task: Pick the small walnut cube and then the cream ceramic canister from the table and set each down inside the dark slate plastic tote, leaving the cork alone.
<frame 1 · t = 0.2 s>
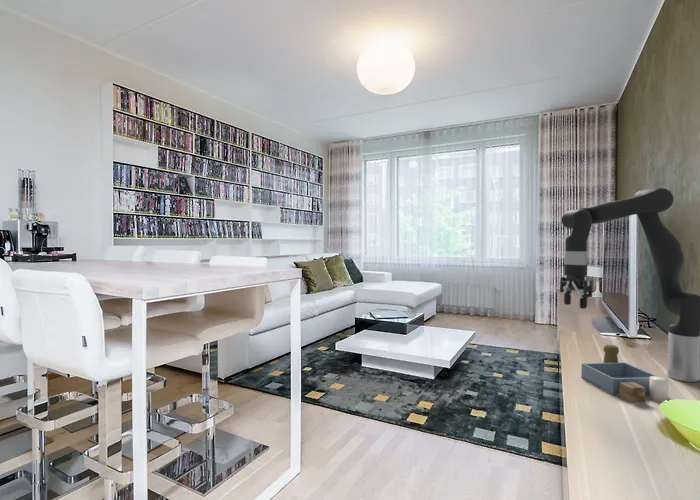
hand: (575, 306, 146), 29 cm above the table, tool pointing down, fingers open, 8 cm apart
ceramic canister: (658, 399, 131), on the table
cork: (610, 372, 157), on the table
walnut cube: (631, 399, 131), on the table
tote: (619, 385, 143), on the table
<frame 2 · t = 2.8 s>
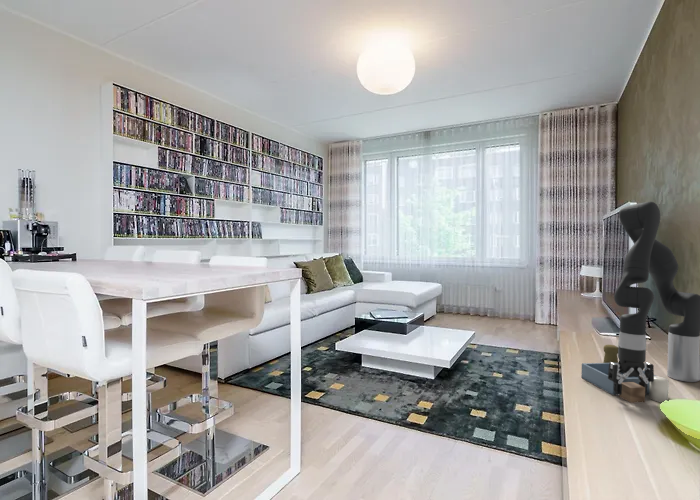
hand: (630, 393, 131), 2 cm above the table, tool pointing down, fingers open, 8 cm apart
nothing on the table moved.
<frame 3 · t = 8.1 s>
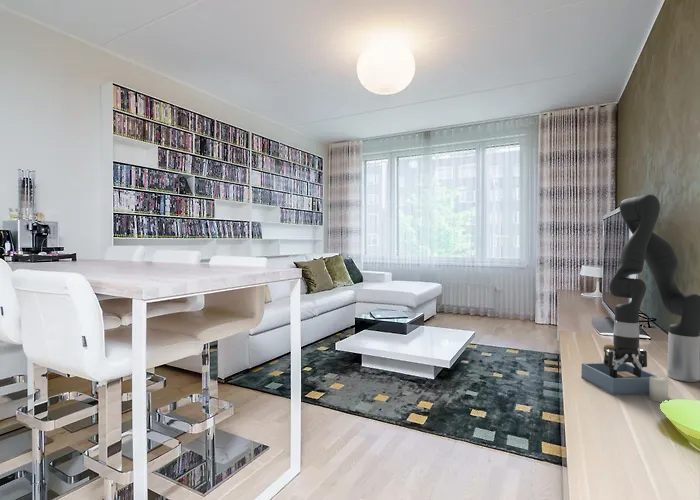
hand: (625, 378, 139), 4 cm above the table, tool pointing down, fingers open, 8 cm apart
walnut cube: (624, 387, 139), point 1 cm above the table, touching tote
everything else where it was.
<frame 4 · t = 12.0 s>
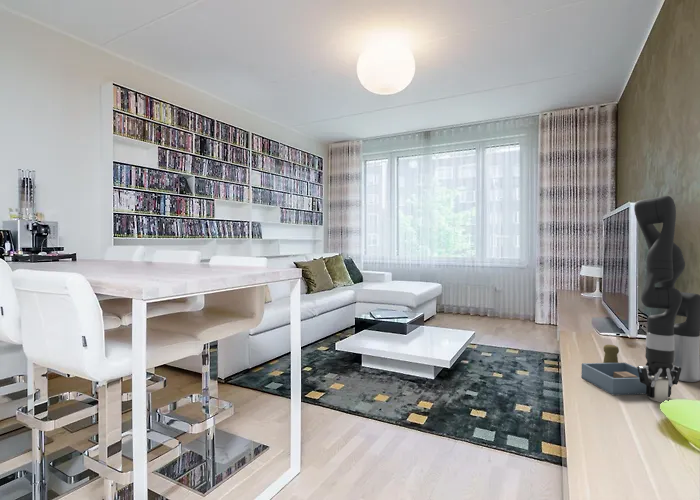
hand: (658, 396, 131), 1 cm above the table, tool pointing down, fingers closed on ceramic canister, 5 cm apart
ceramic canister: (658, 399, 131), on the table, touching gripper
everything else where it was.
when the fingers open (3 cm above the table, at t = 17.5 s): ceramic canister drops 1 cm, resting on tote.
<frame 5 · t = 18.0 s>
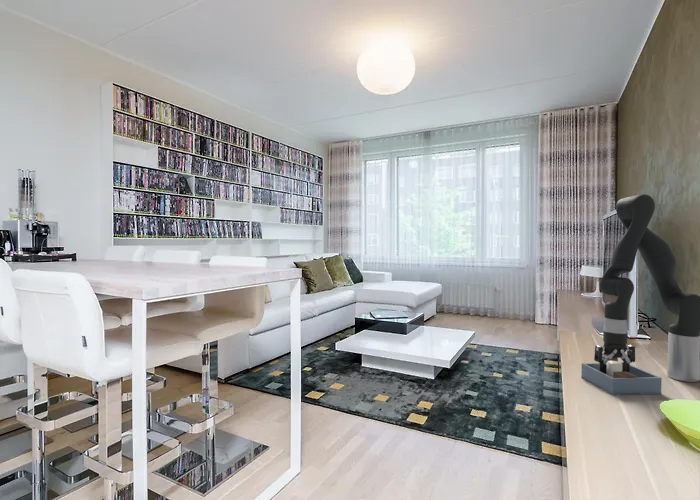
hand: (614, 373, 146), 4 cm above the table, tool pointing down, fingers open, 8 cm apart
ceramic canister: (613, 381, 146), point 1 cm above the table, touching tote
everything else where it was.
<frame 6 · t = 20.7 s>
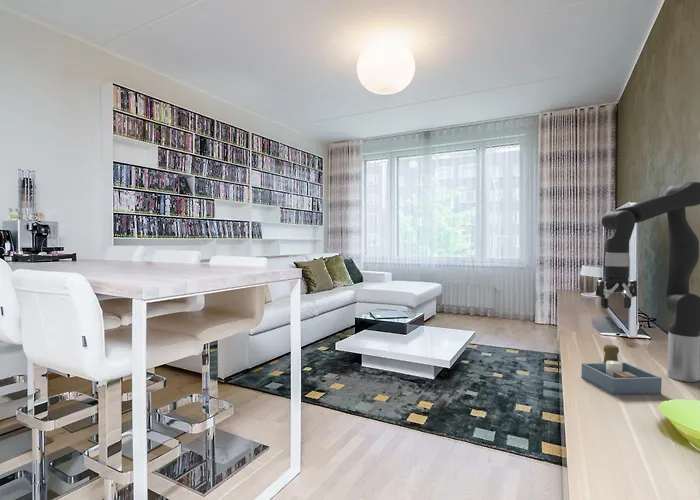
hand: (615, 308, 145), 28 cm above the table, tool pointing down, fingers open, 8 cm apart
nothing on the table moved.
at the end: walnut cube inside the target area on the tote (4.1 cm from its centre), point 0.6 cm above the tote's base; ceramic canister inside the target area on the tote (2.5 cm from its centre), point 0.6 cm above the tote's base; ceramic canister tilted 0° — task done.
